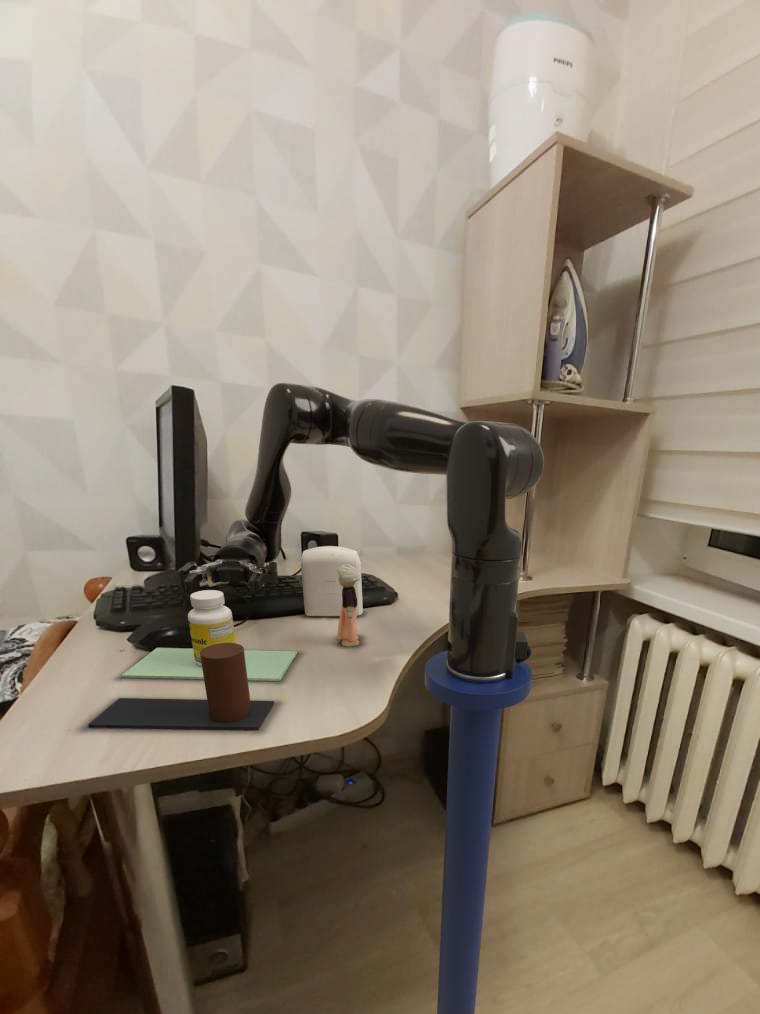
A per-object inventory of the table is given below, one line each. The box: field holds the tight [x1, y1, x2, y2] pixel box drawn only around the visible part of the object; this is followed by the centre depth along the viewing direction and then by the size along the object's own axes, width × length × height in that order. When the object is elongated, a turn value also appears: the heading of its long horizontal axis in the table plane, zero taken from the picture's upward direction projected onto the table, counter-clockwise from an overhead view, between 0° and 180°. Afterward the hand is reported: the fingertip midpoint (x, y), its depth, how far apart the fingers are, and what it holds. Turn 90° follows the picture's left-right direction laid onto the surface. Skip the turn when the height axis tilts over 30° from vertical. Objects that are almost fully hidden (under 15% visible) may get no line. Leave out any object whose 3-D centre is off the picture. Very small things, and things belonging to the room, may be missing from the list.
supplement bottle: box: [187, 589, 237, 666], centre depth 71 cm, size 5×5×10 cm
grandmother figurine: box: [337, 564, 362, 647], centre depth 80 cm, size 8×4×13 cm, turn 23°
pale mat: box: [121, 647, 298, 682], centre depth 72 cm, size 20×9×1 cm, turn 94°
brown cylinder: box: [200, 642, 251, 723], centre depth 59 cm, size 4×4×8 cm
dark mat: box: [87, 697, 275, 731], centre depth 60 cm, size 18×6×1 cm, turn 94°
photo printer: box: [300, 545, 364, 617], centre depth 91 cm, size 10×4×12 cm, turn 99°
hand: (222, 586), depth 77 cm, fingers open, 8 cm apart
